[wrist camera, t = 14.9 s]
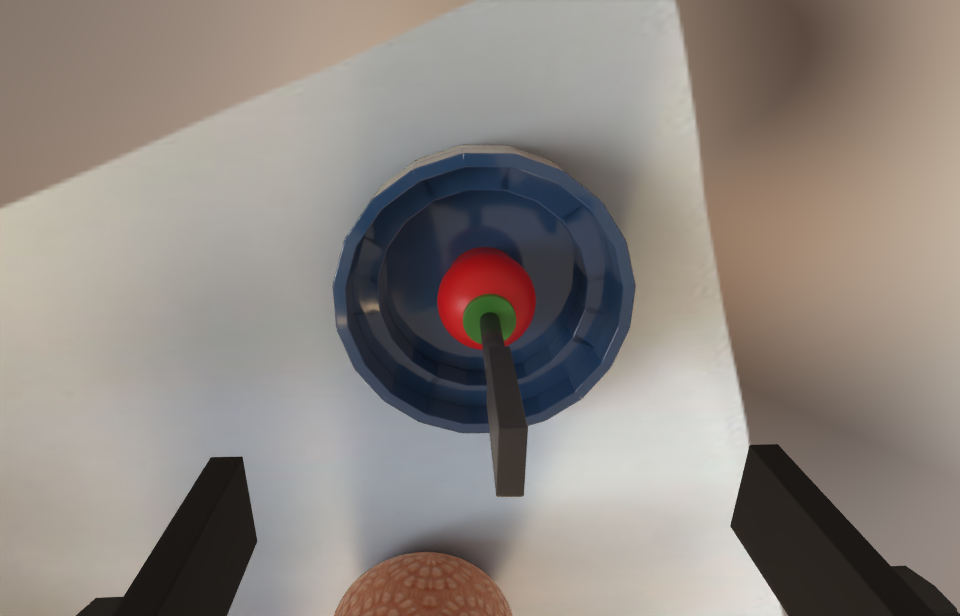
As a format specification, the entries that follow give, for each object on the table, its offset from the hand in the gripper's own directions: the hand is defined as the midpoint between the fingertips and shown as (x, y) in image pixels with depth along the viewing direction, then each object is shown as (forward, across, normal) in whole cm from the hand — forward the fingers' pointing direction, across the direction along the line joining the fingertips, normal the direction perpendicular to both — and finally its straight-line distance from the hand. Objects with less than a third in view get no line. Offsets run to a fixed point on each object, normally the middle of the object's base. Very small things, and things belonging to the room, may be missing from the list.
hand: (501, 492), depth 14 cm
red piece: (+16, +1, 0) cm, 16 cm away
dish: (+17, 0, 0) cm, 17 cm away
